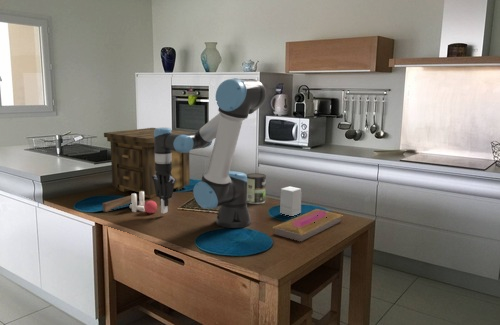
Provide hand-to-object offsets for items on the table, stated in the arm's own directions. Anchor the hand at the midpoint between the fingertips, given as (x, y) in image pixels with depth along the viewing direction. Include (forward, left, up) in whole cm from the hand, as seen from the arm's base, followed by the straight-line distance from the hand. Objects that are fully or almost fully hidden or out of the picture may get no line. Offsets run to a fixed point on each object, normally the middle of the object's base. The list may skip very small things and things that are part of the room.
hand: (164, 212), depth 199 cm
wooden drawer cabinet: (+40, -32, -2) cm, 51 cm away
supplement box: (-46, -37, -2) cm, 59 cm away
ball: (+9, 0, +1) cm, 9 cm away
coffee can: (-21, -46, -2) cm, 51 cm away
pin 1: (+17, +2, -2) cm, 17 cm away
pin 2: (+17, -2, -2) cm, 17 cm away
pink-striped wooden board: (-62, -25, -3) cm, 66 cm away
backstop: (+28, +1, -2) cm, 28 cm away
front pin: (+13, 0, -1) cm, 13 cm away
